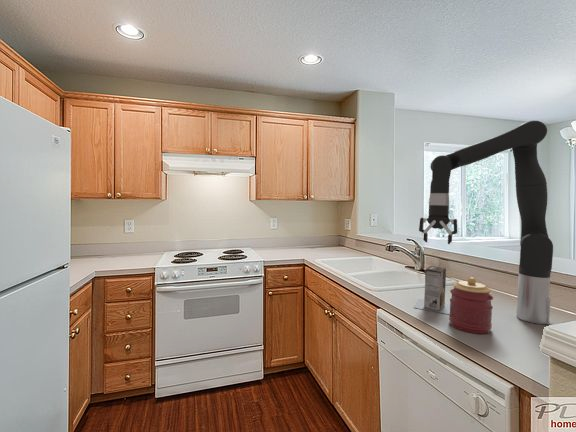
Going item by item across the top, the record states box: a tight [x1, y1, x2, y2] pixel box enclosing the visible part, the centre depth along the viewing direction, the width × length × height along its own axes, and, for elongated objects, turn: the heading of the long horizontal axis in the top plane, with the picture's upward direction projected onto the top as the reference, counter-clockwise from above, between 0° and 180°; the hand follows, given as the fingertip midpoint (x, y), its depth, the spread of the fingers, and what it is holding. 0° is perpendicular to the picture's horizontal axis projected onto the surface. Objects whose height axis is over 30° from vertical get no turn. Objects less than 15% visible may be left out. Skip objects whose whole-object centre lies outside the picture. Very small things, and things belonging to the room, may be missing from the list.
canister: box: [448, 277, 494, 335], centre depth 105 cm, size 13×13×18 cm
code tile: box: [413, 298, 450, 315], centre depth 125 cm, size 14×14×1 cm
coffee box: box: [423, 265, 447, 310], centre depth 125 cm, size 9×6×16 cm
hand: (437, 243), depth 124 cm, fingers open, 8 cm apart
